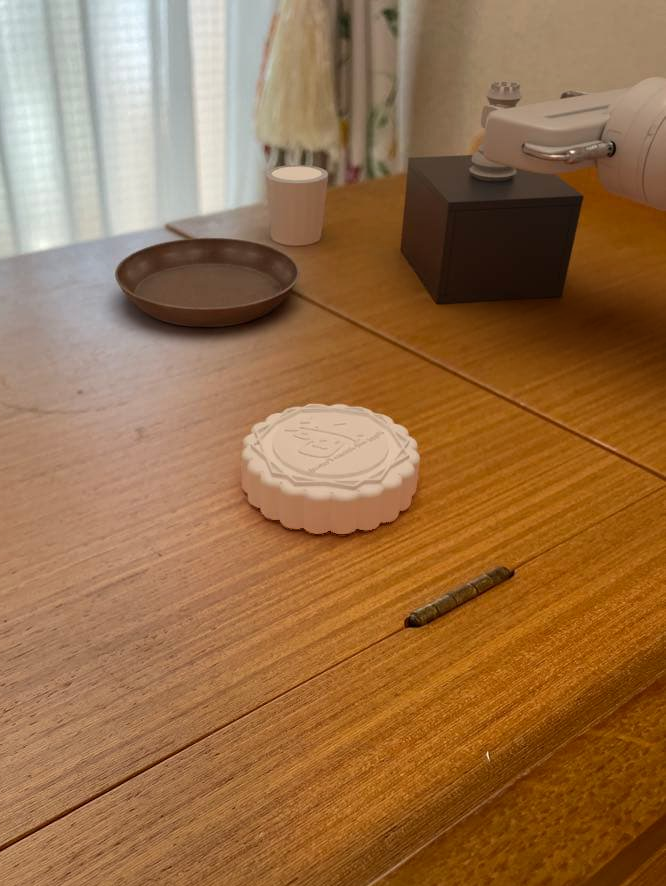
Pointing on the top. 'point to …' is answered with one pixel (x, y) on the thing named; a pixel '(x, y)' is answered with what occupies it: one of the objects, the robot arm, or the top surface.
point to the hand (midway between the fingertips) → (527, 107)
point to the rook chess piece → (481, 165)
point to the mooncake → (330, 468)
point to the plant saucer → (207, 280)
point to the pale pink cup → (296, 203)
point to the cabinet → (487, 231)
